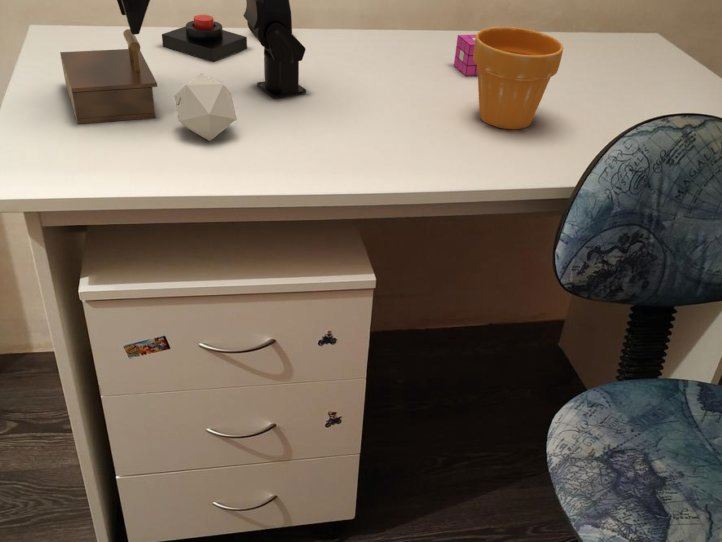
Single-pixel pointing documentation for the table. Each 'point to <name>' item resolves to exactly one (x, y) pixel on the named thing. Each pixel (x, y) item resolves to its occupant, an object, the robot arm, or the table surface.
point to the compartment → (111, 104)
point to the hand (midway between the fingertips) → (130, 24)
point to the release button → (203, 22)
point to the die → (205, 107)
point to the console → (204, 41)
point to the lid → (108, 68)
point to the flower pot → (513, 73)
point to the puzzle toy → (465, 55)
